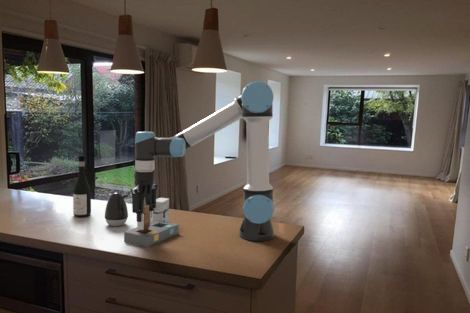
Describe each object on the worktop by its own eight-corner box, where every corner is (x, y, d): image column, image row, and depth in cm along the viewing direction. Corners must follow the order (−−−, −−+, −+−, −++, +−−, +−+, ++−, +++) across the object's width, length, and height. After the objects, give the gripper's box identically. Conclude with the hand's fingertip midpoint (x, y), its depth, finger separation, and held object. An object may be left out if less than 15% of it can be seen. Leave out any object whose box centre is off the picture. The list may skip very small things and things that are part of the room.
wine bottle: (84, 218, 179) (84, 156, 176) (70, 217, 180) (69, 155, 177) (94, 214, 187) (93, 155, 184) (79, 213, 188) (79, 154, 185)
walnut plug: (150, 238, 151) (151, 204, 150) (144, 240, 148) (144, 206, 146) (143, 236, 153) (143, 203, 151) (137, 239, 149) (137, 205, 148)
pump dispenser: (124, 228, 165) (124, 195, 164) (101, 227, 165) (101, 194, 164) (131, 222, 176) (131, 190, 174) (109, 221, 175) (109, 189, 174)
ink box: (162, 227, 169) (162, 202, 168) (152, 226, 170) (152, 201, 169) (169, 222, 177) (169, 198, 176) (159, 221, 178) (160, 197, 177)
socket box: (178, 233, 161) (178, 223, 160) (147, 247, 143) (148, 236, 143) (156, 228, 166) (156, 219, 166) (124, 241, 149) (124, 231, 148)
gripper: (151, 167, 156) (150, 221, 159) (122, 172, 141) (122, 231, 144) (165, 169, 153) (164, 224, 155) (137, 174, 138) (136, 235, 140)
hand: (144, 227), depth 150 cm, fingers open, 4 cm apart
